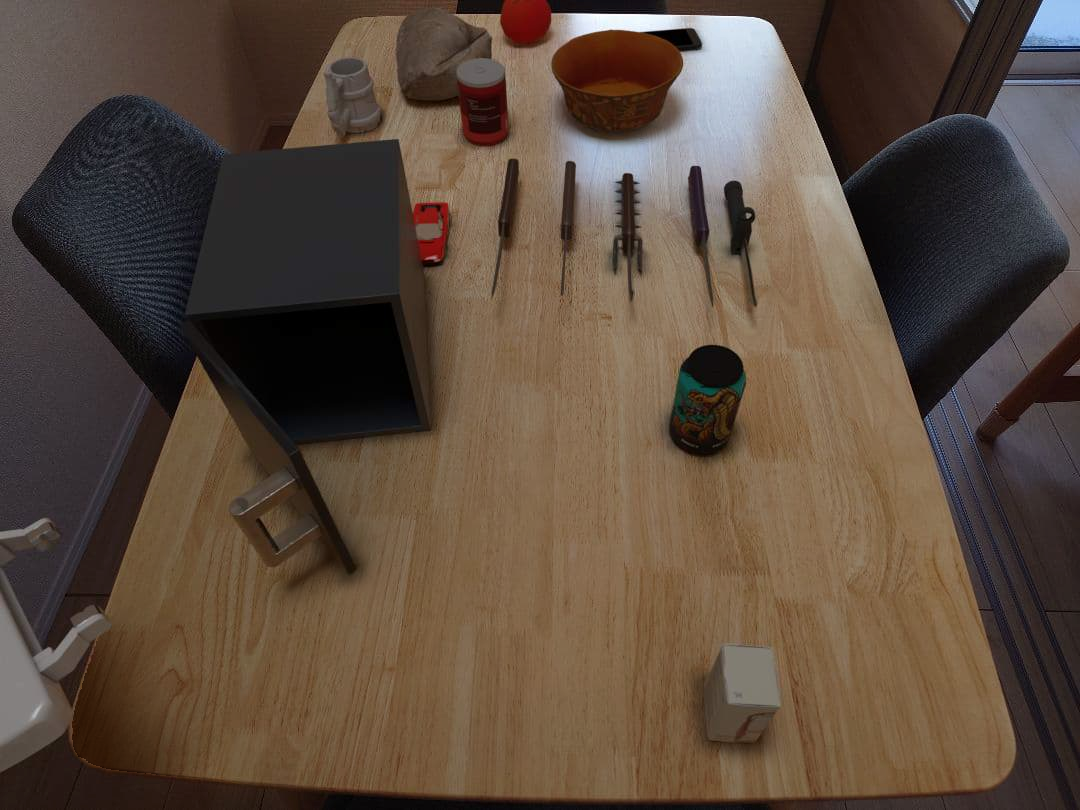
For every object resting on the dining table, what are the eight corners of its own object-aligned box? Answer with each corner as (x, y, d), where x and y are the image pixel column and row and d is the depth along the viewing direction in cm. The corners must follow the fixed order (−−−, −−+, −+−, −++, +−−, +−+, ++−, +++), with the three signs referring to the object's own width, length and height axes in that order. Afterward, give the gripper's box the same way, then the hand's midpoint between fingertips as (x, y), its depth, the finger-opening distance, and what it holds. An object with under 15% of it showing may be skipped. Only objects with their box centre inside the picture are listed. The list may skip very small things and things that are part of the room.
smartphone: (617, 36, 146) (617, 32, 145) (693, 30, 147) (694, 26, 146) (624, 56, 141) (624, 51, 140) (703, 49, 142) (703, 45, 141)
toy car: (446, 266, 106) (443, 249, 104) (409, 267, 107) (405, 250, 104) (450, 213, 114) (448, 195, 111) (416, 214, 114) (413, 196, 111)
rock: (514, 27, 132) (445, -27, 122) (492, 114, 130) (420, 67, 120) (462, 53, 144) (396, 7, 134) (441, 134, 142) (372, 92, 132)
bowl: (526, 122, 129) (524, 65, 121) (602, 70, 138) (604, 15, 130) (626, 167, 120) (630, 109, 112) (699, 109, 130) (708, 52, 122)
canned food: (489, 115, 130) (484, 52, 121) (518, 135, 126) (515, 71, 118) (453, 132, 127) (445, 68, 118) (482, 152, 123) (476, 89, 115)
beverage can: (693, 467, 85) (709, 401, 76) (656, 424, 89) (667, 356, 79) (742, 440, 87) (764, 372, 78) (704, 399, 91) (720, 330, 81)
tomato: (560, 33, 147) (560, -12, 141) (531, 56, 142) (529, 10, 135) (520, 22, 150) (518, -23, 144) (490, 44, 145) (487, -2, 139)
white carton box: (756, 744, 67) (782, 711, 59) (706, 741, 67) (725, 707, 59) (750, 685, 70) (774, 645, 62) (702, 682, 70) (720, 642, 62)
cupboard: (430, 430, 89) (399, 293, 72) (258, 448, 88) (184, 314, 71) (425, 280, 105) (398, 138, 88) (279, 294, 104) (223, 153, 86)
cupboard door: (298, 611, 75) (221, 499, 58) (206, 485, 85) (117, 356, 68) (356, 568, 78) (299, 449, 61) (261, 451, 88) (188, 318, 70)
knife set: (486, 328, 97) (483, 281, 91) (509, 183, 119) (508, 138, 113) (761, 341, 96) (775, 295, 90) (734, 192, 117) (744, 147, 111)
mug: (389, 112, 131) (376, 44, 122) (360, 151, 124) (343, 81, 115) (349, 106, 133) (333, 38, 123) (318, 144, 126) (298, 75, 116)
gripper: (-115, 817, 44) (115, 657, 49) (-192, 574, 53) (8, 462, 59) (-46, 834, 49) (156, 687, 54) (-128, 609, 58) (52, 503, 64)
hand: (79, 569), depth 57 cm, fingers open, 8 cm apart
